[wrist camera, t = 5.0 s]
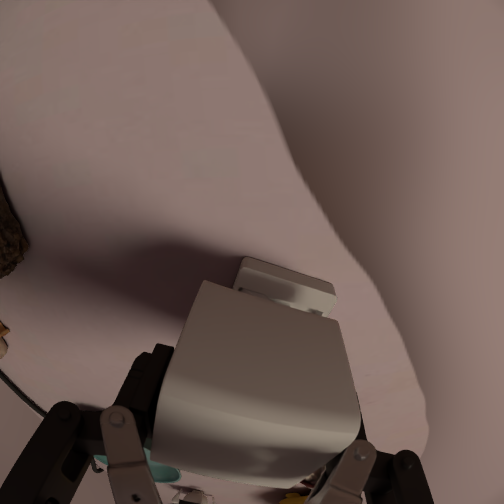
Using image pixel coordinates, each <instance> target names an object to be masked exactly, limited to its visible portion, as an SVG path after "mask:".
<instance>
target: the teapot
mask: <svg viewBox="0 0 504 504" xmlns="http://www.w3.org/2000/svg"><path fill="white" fill-rule="evenodd" d="M286 497H287V499H283V500H281V502H280V503H279V504H303V503H304V502H305V500H306V499H307V497H308V496H302V497H300V494H299V493H288V494H286Z"/></svg>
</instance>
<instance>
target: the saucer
mask: <svg viewBox="0 0 504 504" xmlns="http://www.w3.org/2000/svg"><path fill="white" fill-rule="evenodd" d="M151 444H152V439H150V438H146V441H145V444H144V447H143V448H144V451H145V454H146V458H147V461H148V464H149V467H150V470H151V473H152V476H153V479H154V482H158V483H174V482H178V481H179V480H180V479H181V473H180V470H179V469H177V468H173V467H170V466H167V465H163V464H160V463H157V462H154V461H151V460H150V452H151ZM94 458H96V459H97V460H99V461H100V462H102V463H104V464H106V465H108V462H107V457H106V456H101V455H94Z"/></svg>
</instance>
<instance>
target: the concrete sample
mask: <svg viewBox="0 0 504 504" xmlns="http://www.w3.org/2000/svg"><path fill="white" fill-rule="evenodd" d="M28 247H29V246H28V244H27V242H26V240H25V239H24V237H23V236H22V232H21V229H20V225H19V223H18V221H17V220H16V219H15V218H14V217H13V215H12V214H11V212H10V209H9V206H8V204H7V203H6V200H5V198H4V195H3V192H2V189H1V186H0V279H2V278H3V277H4V276H6V275H7V276H8V275H9V274H10V273H11V272H13V271H14V269H15V267H16V266H17V264H18V263H20V262H22V261H23V260H24V257H23V255H24V253H25V252H27V251H28Z"/></svg>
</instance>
